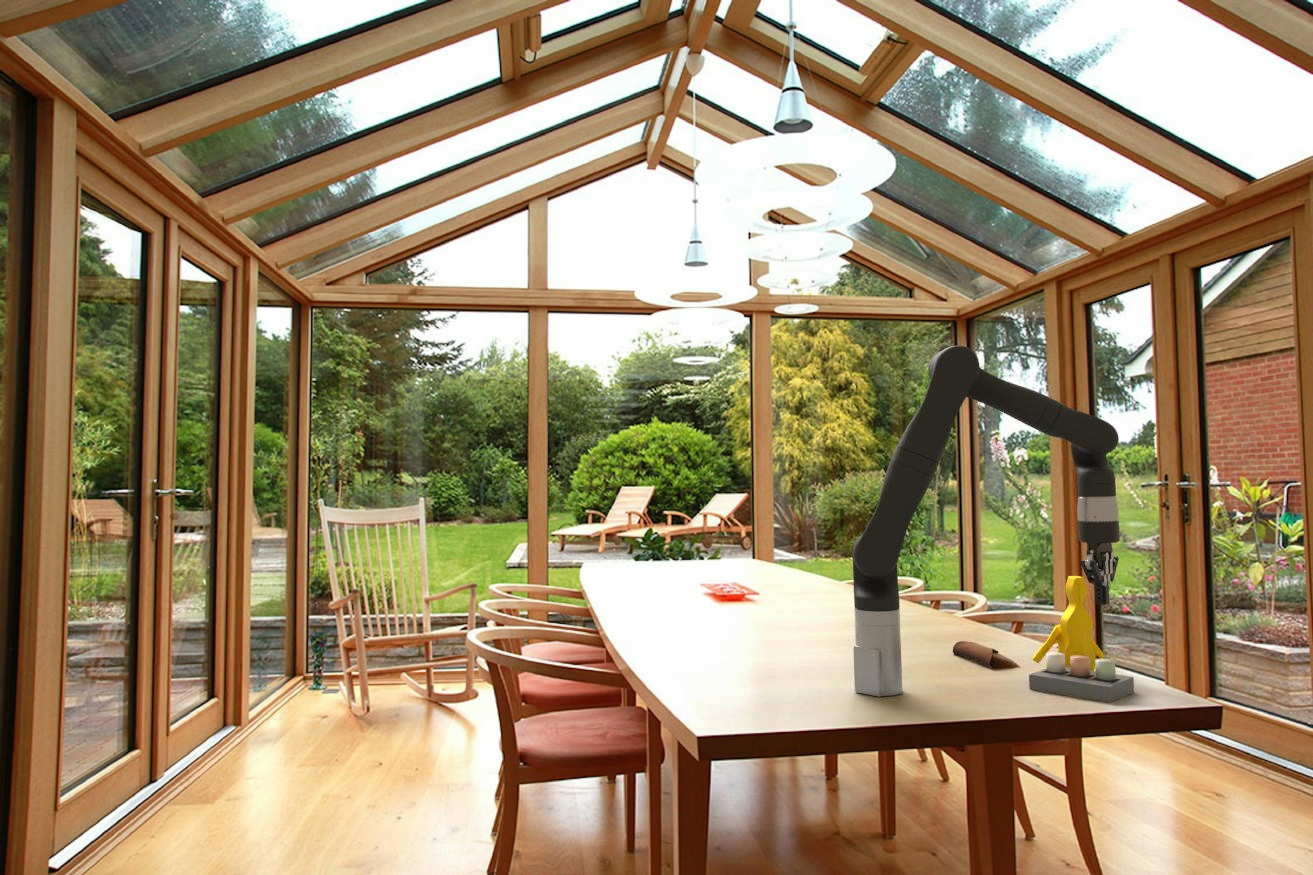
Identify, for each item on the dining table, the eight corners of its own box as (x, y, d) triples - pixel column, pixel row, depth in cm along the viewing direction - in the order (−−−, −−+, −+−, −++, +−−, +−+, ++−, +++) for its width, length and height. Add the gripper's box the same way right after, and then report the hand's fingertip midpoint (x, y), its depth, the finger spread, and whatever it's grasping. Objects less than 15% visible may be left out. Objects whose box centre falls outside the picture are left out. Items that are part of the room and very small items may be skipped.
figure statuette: (1098, 668, 198) (1094, 572, 199) (1122, 675, 190) (1117, 575, 191) (1027, 672, 195) (1023, 574, 196) (1048, 680, 187) (1043, 578, 188)
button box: (1110, 702, 168) (1109, 686, 168) (1029, 688, 180) (1028, 674, 180) (1134, 691, 176) (1133, 676, 176) (1055, 679, 188) (1054, 665, 188)
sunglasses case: (1024, 667, 200) (1009, 642, 200) (1001, 684, 199) (986, 659, 199) (983, 652, 218) (969, 630, 218) (961, 668, 217) (947, 645, 217)
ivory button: (1060, 673, 179) (1060, 656, 180) (1043, 670, 182) (1043, 653, 182) (1068, 670, 182) (1067, 653, 182) (1051, 667, 185) (1050, 651, 185)
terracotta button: (1085, 676, 176) (1084, 659, 176) (1067, 674, 178) (1067, 657, 179) (1093, 673, 178) (1092, 656, 178) (1075, 671, 181) (1074, 654, 181)
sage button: (1111, 680, 172) (1110, 662, 172) (1092, 677, 175) (1092, 660, 175) (1118, 677, 174) (1117, 660, 174) (1100, 675, 177) (1099, 657, 177)
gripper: (1103, 520, 169) (1108, 609, 168) (1130, 517, 178) (1134, 602, 177) (1065, 520, 175) (1069, 606, 174) (1092, 517, 183) (1096, 599, 182)
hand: (1102, 604), depth 175 cm, fingers closed
